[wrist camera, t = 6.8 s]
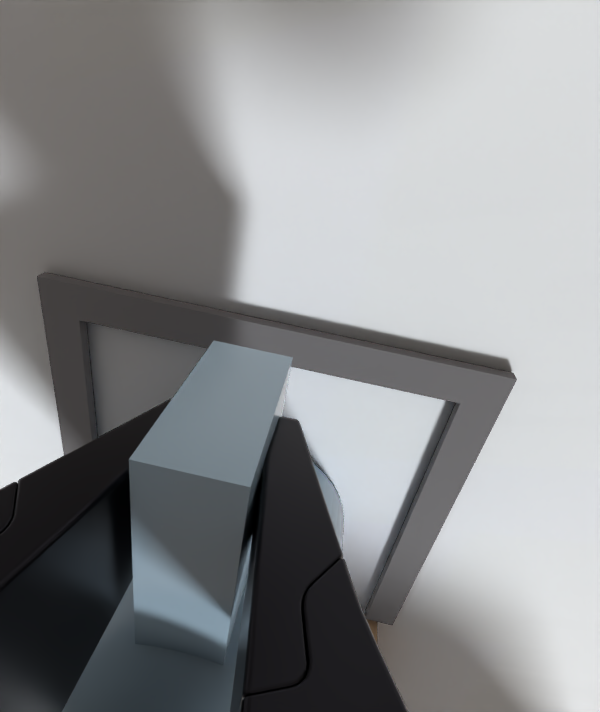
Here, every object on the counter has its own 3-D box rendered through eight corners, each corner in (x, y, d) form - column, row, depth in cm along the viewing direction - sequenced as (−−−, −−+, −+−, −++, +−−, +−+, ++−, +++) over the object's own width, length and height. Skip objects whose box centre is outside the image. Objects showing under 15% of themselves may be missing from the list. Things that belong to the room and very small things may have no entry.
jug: (322, 593, 16) (294, 889, 10) (150, 552, 16) (16, 815, 10) (406, 330, 11) (456, 610, 5) (149, 276, 11) (-129, 471, 5)
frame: (44, 272, 11) (37, 276, 11) (513, 372, 11) (516, 379, 10) (83, 542, 17) (78, 549, 17) (391, 617, 16) (392, 625, 16)
